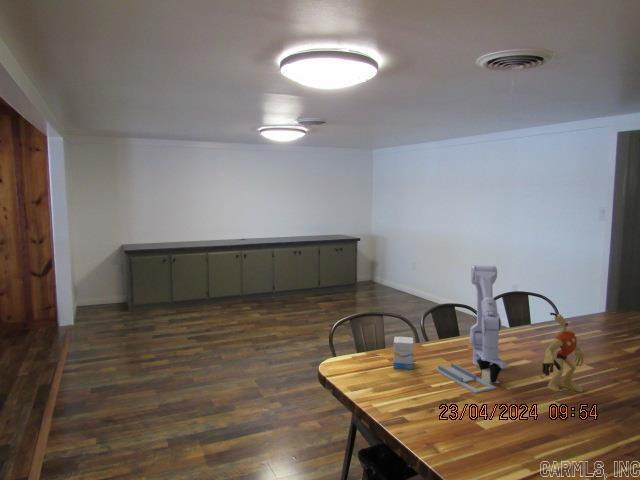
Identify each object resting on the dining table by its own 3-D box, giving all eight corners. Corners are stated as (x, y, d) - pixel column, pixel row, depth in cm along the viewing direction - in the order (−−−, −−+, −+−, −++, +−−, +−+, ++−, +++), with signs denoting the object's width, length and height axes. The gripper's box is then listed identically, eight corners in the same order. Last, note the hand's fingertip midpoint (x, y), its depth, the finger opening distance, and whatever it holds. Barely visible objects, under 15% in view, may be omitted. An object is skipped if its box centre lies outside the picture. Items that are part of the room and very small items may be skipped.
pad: (488, 380, 177) (488, 376, 177) (499, 386, 172) (499, 382, 171) (478, 382, 175) (478, 378, 175) (489, 388, 170) (490, 384, 169)
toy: (550, 404, 157) (554, 321, 154) (528, 394, 164) (532, 315, 161) (589, 390, 167) (594, 313, 164) (568, 381, 175) (571, 307, 172)
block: (489, 377, 176) (489, 368, 175) (497, 381, 172) (497, 371, 172) (481, 379, 174) (481, 369, 174) (489, 383, 171) (489, 373, 170)
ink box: (413, 369, 188) (413, 343, 187) (393, 368, 190) (393, 342, 189) (413, 362, 197) (413, 337, 195) (393, 361, 198) (394, 335, 197)
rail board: (455, 370, 187) (455, 362, 187) (495, 392, 166) (496, 383, 166) (435, 374, 183) (435, 365, 183) (474, 397, 162) (475, 388, 162)
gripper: (469, 341, 177) (468, 374, 178) (496, 353, 164) (495, 388, 165) (483, 339, 180) (482, 371, 181) (510, 350, 166) (509, 385, 168)
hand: (489, 379), depth 173 cm, fingers closed on block, 4 cm apart
